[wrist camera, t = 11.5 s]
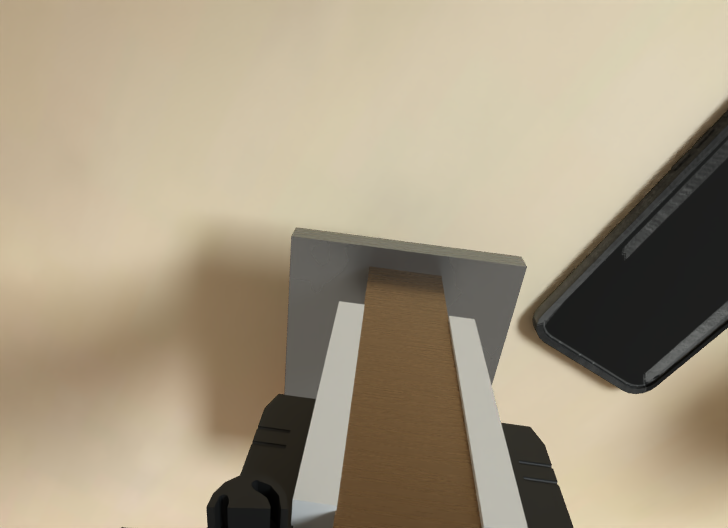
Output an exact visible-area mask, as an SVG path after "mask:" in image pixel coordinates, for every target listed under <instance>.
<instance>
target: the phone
mask: <svg viewBox="0 0 728 528" xmlns="http://www.w3.org/2000/svg"><path fill="white" fill-rule="evenodd" d="M533 326H534V328H535V330H536V332H537V334H538V336H539V338H540V339H541V340H542V341H543V342H545V343H546V344H548V345H550V346H551V347H553V348H554V349H556V350H558V351H559V352H561V353H563V354H564V355H566V356H567V357H569V358H571V359H572V360H574V361H576V362H577V363H579V364H580V365H582V366H584V367H585V368H587V369H589V370H590V371H592V372H593V373H595V374H597V375H598V376H600V377H602V378H603V379H605V380H606V381H608V382H610V383H611V384H613V385H615V386H616V387H618V388H619V389H621V390H623V391H625V392H627V393H632V394H639V393H644V392H647V391H650V390H652V389H653V388H655V387H656V386H657V385H659V384H660V383H661V382H662V381H664V380H665V379H666V378H667V377H668V376H670V375H671V374H672V373H673V372H674V371H676V370H677V369H678V368H679V367H681V366H682V365H683V364H684V363H685V362H687V361H688V360H689V359H690V358H691V357H693V356H694V355H695V354H696V353H698V352H699V351H700V350H701V349H702V348H704V347H705V346H706V345H707V344H708V343H710V342H711V341H712V340H713V339H715V338H716V337H717V336H718V335H719V334H721V333H722V332H723V331H724V330H725V329H727V328H728V111H727V112H726V113H725V114H724V115H723V116H722V117H721V118H720V119H719V120H718V121H717V122H716V123H715V124H714V125H713V126H712V127H711V128H710V129H709V130H708V131H707V132H706V133H705V134H704V135H703V136H702V137H701V139H700V140H699V141H698V142H697V143H696V144H695V145H694V146H693V147H692V148H691V149H690V150H689V151H688V152H687V153H686V154H685V155H684V156H683V157H682V158H681V159H680V160H679V161H678V162H677V163H676V164H675V165H674V166H673V167H672V169H671V170H670V171H669V172H668V173H667V174H666V175H665V176H664V177H663V178H662V179H661V180H660V181H659V182H658V184H657V185H656V186H655V187H654V188H653V189H652V190H651V191H650V192H649V193H648V194H647V195H646V196H645V197H644V198H643V199H642V200H641V201H640V202H639V203H638V204H637V205H636V206H635V207H634V208H633V210H632V211H631V212H630V213H629V214H628V215H627V216H626V217H625V218H624V219H623V220H622V221H621V222H620V223H619V224H618V225H617V226H616V227H615V228H614V229H613V230H612V231H611V232H610V233H609V234H608V236H607V237H606V238H605V239H604V240H603V241H602V242H601V243H600V244H599V245H598V246H597V247H596V248H595V249H594V250H593V251H592V252H591V253H590V254H589V255H588V256H587V257H586V258H585V259H584V260H583V262H582V263H581V264H580V265H579V266H578V267H577V268H576V269H575V270H574V271H573V272H572V273H571V274H570V275H569V276H568V277H567V278H566V279H565V280H564V281H563V282H562V283H561V284H560V285H559V287H558V288H557V289H556V290H555V291H554V292H553V293H552V294H551V295H550V296H549V297H548V298H547V299H546V300H545V301H544V302H543V303H542V304H541V305H540V306H539V307H538V309H537V310H536V311H535V313H534V316H533Z"/></svg>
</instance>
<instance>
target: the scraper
mask: <svg viewBox="0 0 728 528" xmlns="http://www.w3.org/2000/svg"><path fill="white" fill-rule="evenodd" d="M526 268H527V266H526V264H525V262H524V261H523V259H522V257H519V256H512V255H504V254H496V253H489V252H481V251H473V250H466V249H458V248H450V247H443V246H435V245H427V244H419V243H412V242H404V241H396V240H389V239H381V238H373V237H366V236H358V235H350V234H343V233H335V232H327V231H319V230H312V229H304V228H296V229H295V231H294V233H293V234H292V236H291V259H290V282H289V304H288V327H287V350H286V373H285V395H290V396H297V397H305V398H312V399H316V398H317V394H318V389H319V385H320V381H321V376H322V372H323V368H324V364H325V359H326V355H327V351H328V347H329V342H330V338H331V334H332V330H333V325H334V321H335V317H336V312H337V308H338V304H339V301H341V302H349V303H356V304H364V305H365V306H364V313H363V320H362V328H361V335H360V342H359V350H358V357H357V364H356V372H355V379H354V386H353V394H352V401H351V408H350V415H349V423H348V430H347V437H346V445H345V452H344V459H343V467H342V474H341V481H340V489H339V496H338V503H337V510H336V511H335V516H334V523H333V528H482V526H481V520H480V514H479V508H478V501H477V495H476V489H475V483H474V477H473V470H472V464H471V458H470V452H469V446H468V439H467V433H466V427H465V421H464V415H463V408H462V402H461V396H460V390H459V384H458V377H457V371H456V365H455V359H454V353H453V346H452V340H451V334H450V328H449V322H448V318H449V316H455V317H462V318H470V319H475V323H476V327H477V330H478V334H479V338H480V342H481V346H482V350H483V354H484V358H485V362H486V366H487V370H488V374H489V378H490V381H491V385H492V382H493V379H494V376H495V372H496V369H497V366H498V362H499V359H500V355H501V352H502V349H503V345H504V342H505V339H506V335H507V332H508V329H509V325H510V322H511V318H512V315H513V312H514V308H515V305H516V302H517V298H518V295H519V292H520V288H521V285H522V282H523V278H524V275H525V271H526Z"/></svg>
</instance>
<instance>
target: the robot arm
mask: <svg viewBox="0 0 728 528" xmlns="http://www.w3.org/2000/svg"><path fill="white" fill-rule="evenodd" d="M364 306H365V305H364V304H356V303H349V302H341V301H339V304H338V308H337V312H336V317H335V321H334V325H333V330H332V334H331V338H330V342H329V347H328V351H327V355H326V359H325V364H324V368H323V372H322V376H321V381H320V385H319V389H318V394H317V398H316V399H312V398H305V397H297V396H290V395H283V394H278V395H277V396H276V397H275V398H274V399H273V400H272V401H271V402H270V403H269V404H268V405H267V406H266V407H265V409H264V412H263V414H262V417H261V420H260V423H259V425H258V429H257V431H256V434H255V436H254V439H253V443H252V444H251V447H250V450H249V453H248V455H247V458H246V461H245V464H244V466H243V469H242V472H241V474H240V476H238V477H235V478H233V479H231V480H229V481H227V482H225V483H224V484H223V485H222V486H221V487H220V488H219V489H217V490H216V491H215V492H214V493H213V495H212V497H211V499H210V501H209V503H208V505H207V523H208V527H207V528H333V523H334V516H335V511H336V510H337V503H338V496H339V489H340V481H341V474H342V467H343V459H344V452H345V445H346V437H347V430H348V423H349V415H350V408H351V401H352V394H353V386H354V379H355V372H356V364H357V357H358V350H359V342H360V335H361V328H362V320H363V313H364ZM448 322H449V328H450V334H451V340H452V346H453V353H454V359H455V365H456V371H457V377H458V384H459V390H460V396H461V402H462V408H463V415H464V421H465V427H466V433H467V439H468V446H469V452H470V458H471V464H472V470H473V477H474V483H475V489H476V495H477V501H478V508H479V514H480V520H481V526H482V528H573V525H572V522H571V519H570V516H569V513H568V510H567V508H566V505H565V502H564V499H563V496H562V493H561V490H560V487H559V485H557V479H556V476H555V473H554V470H553V469H552V468H551V465H552V464H551V462H550V459H549V456H548V453H547V450H546V447H545V445H544V443H543V442H542V441H541V440H540V438H539V437H538V436H537V435H536V433H535V432H534V431H533V430H532V428H531V427H528V426H520V425H513V424H506V423H501V421H500V417H499V413H498V409H497V405H496V401H495V397H494V393H493V389H492V385H491V381H490V378H489V374H488V370H487V366H486V362H485V358H484V354H483V350H482V346H481V342H480V338H479V334H478V330H477V327H476V323H475V319H470V318H462V317H455V316H449V318H448ZM122 528H124V527H122Z"/></svg>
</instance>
